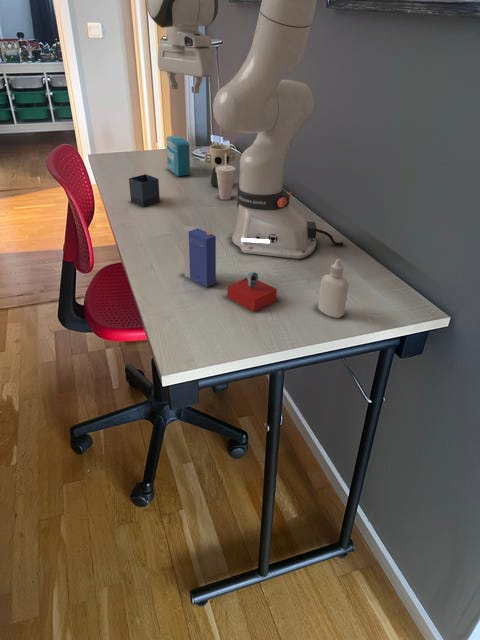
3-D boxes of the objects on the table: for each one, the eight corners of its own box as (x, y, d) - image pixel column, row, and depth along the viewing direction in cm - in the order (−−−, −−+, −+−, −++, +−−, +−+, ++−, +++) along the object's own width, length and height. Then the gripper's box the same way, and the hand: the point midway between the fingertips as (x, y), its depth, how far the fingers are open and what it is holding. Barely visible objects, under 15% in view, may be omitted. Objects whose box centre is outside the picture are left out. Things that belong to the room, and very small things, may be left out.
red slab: (227, 297, 109) (227, 271, 105) (249, 287, 113) (250, 261, 110) (254, 311, 104) (255, 284, 101) (275, 300, 108) (277, 274, 105)
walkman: (216, 283, 114) (215, 234, 107) (206, 287, 112) (206, 237, 106) (193, 272, 119) (192, 224, 112) (184, 275, 117) (182, 227, 110)
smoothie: (236, 195, 166) (236, 151, 158) (233, 201, 160) (234, 157, 153) (216, 194, 166) (216, 150, 158) (214, 200, 161) (213, 156, 153)
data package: (167, 168, 189) (165, 135, 183) (178, 167, 191) (177, 134, 185) (178, 177, 180) (177, 143, 174) (190, 176, 182) (189, 142, 176)
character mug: (208, 190, 169) (207, 150, 162) (201, 183, 175) (201, 145, 168) (238, 187, 173) (239, 148, 166) (231, 180, 178) (231, 143, 171)
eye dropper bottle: (334, 304, 107) (342, 252, 101) (346, 317, 103) (354, 265, 96) (315, 306, 106) (322, 254, 100) (326, 320, 102) (333, 267, 95)
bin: (159, 202, 158) (143, 207, 154) (147, 197, 162) (131, 201, 158) (158, 178, 154) (141, 183, 150) (145, 174, 158) (128, 178, 154)
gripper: (151, 35, 146) (154, 87, 154) (199, 40, 135) (200, 96, 142) (167, 35, 150) (170, 85, 157) (216, 39, 138) (216, 94, 146)
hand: (184, 91), depth 150 cm, fingers open, 8 cm apart
